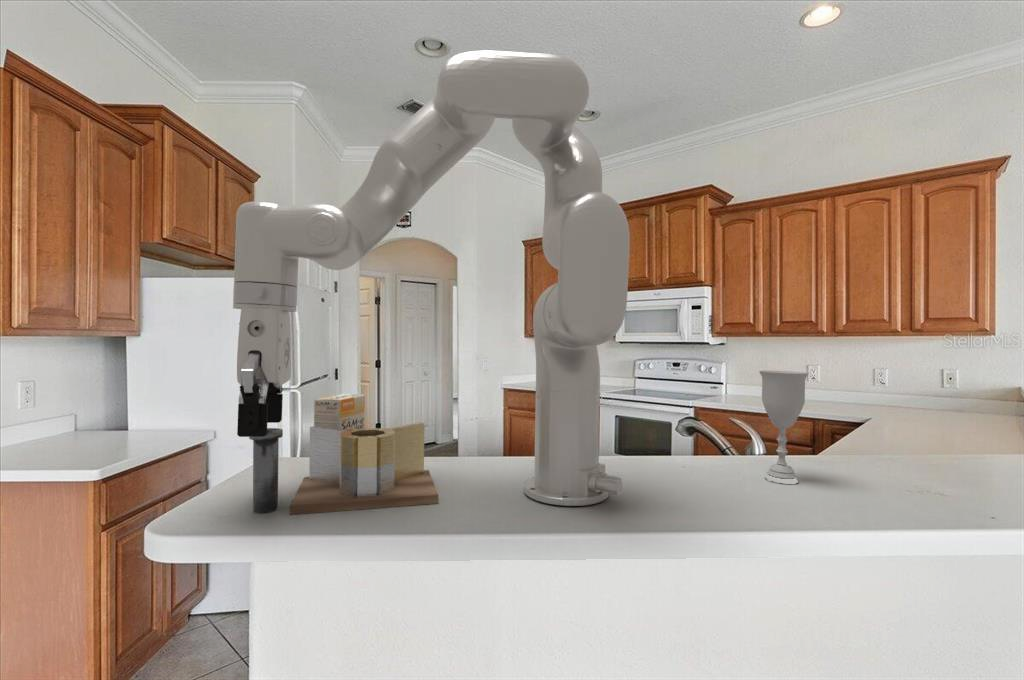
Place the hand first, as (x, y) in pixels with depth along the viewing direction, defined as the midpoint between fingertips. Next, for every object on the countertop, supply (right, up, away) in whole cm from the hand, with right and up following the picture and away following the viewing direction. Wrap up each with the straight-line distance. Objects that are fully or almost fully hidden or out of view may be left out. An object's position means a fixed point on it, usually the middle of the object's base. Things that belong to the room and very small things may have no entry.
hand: (261, 428), depth 65 cm
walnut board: (+12, -11, +7) cm, 18 cm away
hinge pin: (0, -11, 0) cm, 11 cm away
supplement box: (+5, -11, +17) cm, 20 cm away
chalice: (+78, -12, +17) cm, 81 cm away
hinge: (+12, -10, +7) cm, 17 cm away
